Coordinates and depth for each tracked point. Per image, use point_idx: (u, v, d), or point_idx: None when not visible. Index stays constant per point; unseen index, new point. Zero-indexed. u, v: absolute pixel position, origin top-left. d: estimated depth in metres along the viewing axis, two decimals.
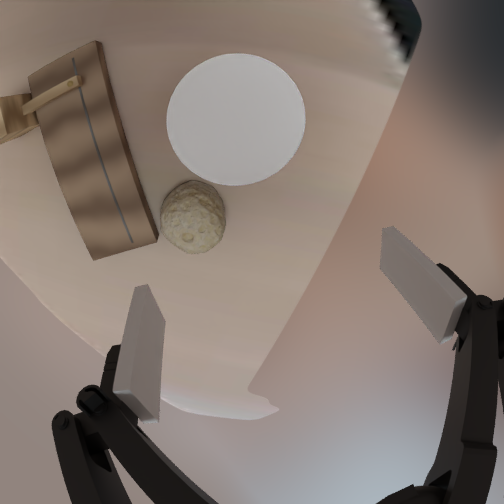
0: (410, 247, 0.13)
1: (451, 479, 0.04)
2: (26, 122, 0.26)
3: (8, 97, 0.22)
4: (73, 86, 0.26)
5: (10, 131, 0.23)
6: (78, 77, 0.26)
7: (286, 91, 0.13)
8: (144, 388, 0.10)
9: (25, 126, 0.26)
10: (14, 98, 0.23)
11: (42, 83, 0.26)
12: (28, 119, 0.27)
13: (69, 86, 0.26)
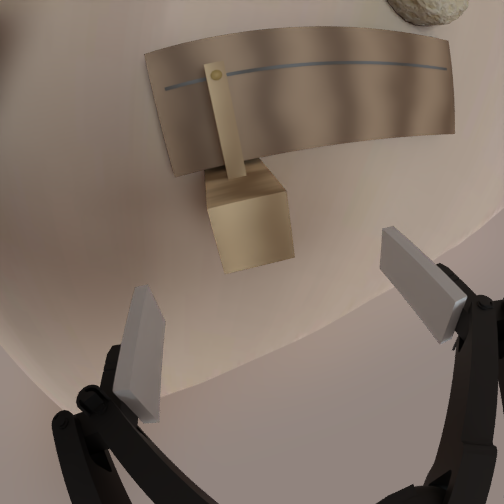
0: (410, 247, 0.13)
1: (451, 479, 0.04)
2: (260, 172, 0.22)
3: (208, 195, 0.20)
4: (223, 69, 0.18)
5: (279, 187, 0.19)
6: None
7: None
8: (144, 388, 0.10)
9: (267, 172, 0.22)
10: (212, 188, 0.21)
11: (195, 146, 0.23)
12: (253, 170, 0.23)
13: (221, 76, 0.18)
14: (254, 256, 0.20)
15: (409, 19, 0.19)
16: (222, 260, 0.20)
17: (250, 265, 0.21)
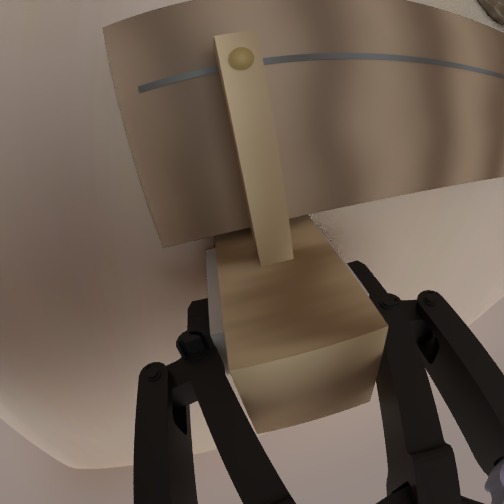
0: None
1: (412, 491, 0.05)
2: (317, 251, 0.12)
3: (228, 317, 0.10)
4: (255, 48, 0.08)
5: (371, 310, 0.09)
6: None
7: None
8: None
9: (331, 253, 0.12)
10: (232, 292, 0.11)
11: (197, 195, 0.13)
12: (302, 244, 0.13)
13: (251, 62, 0.08)
14: (309, 413, 0.10)
15: (496, 15, 0.10)
16: (254, 423, 0.10)
17: (301, 421, 0.11)
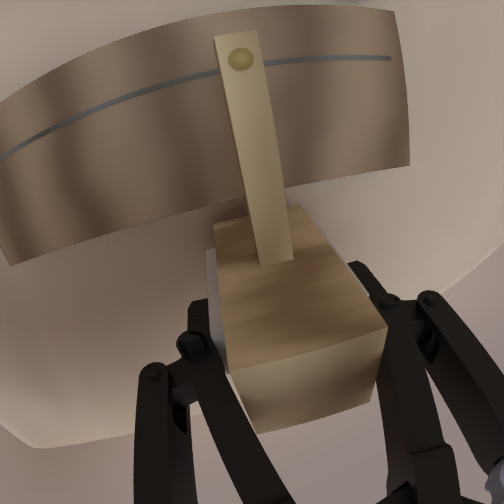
0: None
1: (412, 491, 0.05)
2: (317, 251, 0.12)
3: (227, 318, 0.10)
4: (255, 48, 0.08)
5: (371, 311, 0.09)
6: None
7: None
8: None
9: (331, 253, 0.12)
10: (231, 292, 0.11)
11: (15, 233, 0.16)
12: (302, 245, 0.13)
13: (251, 62, 0.08)
14: (308, 413, 0.10)
15: None
16: (254, 423, 0.10)
17: (301, 422, 0.11)
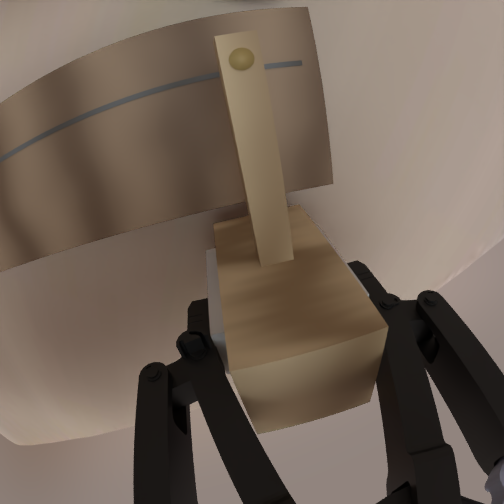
0: None
1: (412, 491, 0.05)
2: (317, 251, 0.12)
3: (228, 318, 0.10)
4: (255, 49, 0.08)
5: (371, 311, 0.09)
6: None
7: None
8: None
9: (331, 253, 0.12)
10: (232, 292, 0.11)
11: None
12: (302, 245, 0.13)
13: (251, 62, 0.08)
14: (309, 413, 0.10)
15: None
16: (255, 423, 0.10)
17: (301, 422, 0.11)
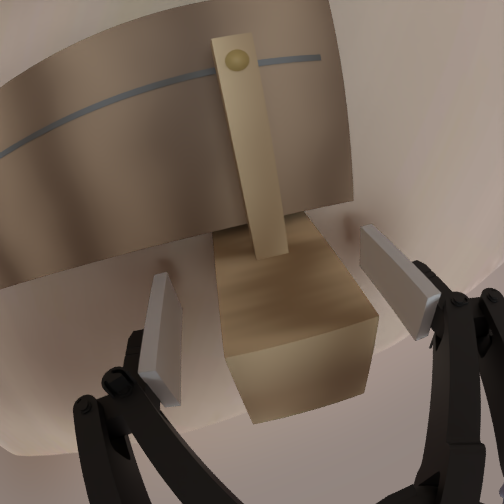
0: (386, 244, 0.14)
1: (440, 481, 0.04)
2: (311, 245, 0.13)
3: (224, 308, 0.10)
4: (250, 50, 0.08)
5: (362, 301, 0.09)
6: None
7: None
8: (167, 370, 0.11)
9: (325, 247, 0.13)
10: (228, 284, 0.12)
11: None
12: (297, 239, 0.13)
13: (247, 63, 0.09)
14: (303, 403, 0.11)
15: None
16: (250, 413, 0.11)
17: (296, 412, 0.11)
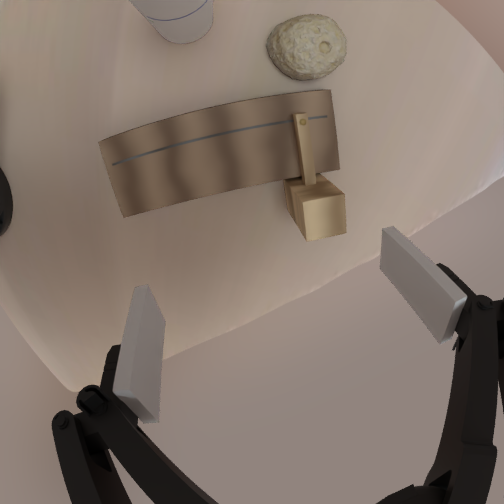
0: (410, 247, 0.13)
1: (451, 479, 0.04)
2: (324, 182, 0.36)
3: (298, 195, 0.34)
4: (306, 118, 0.32)
5: (340, 191, 0.32)
6: (296, 113, 0.32)
7: None
8: (144, 388, 0.10)
9: (328, 182, 0.36)
10: (297, 190, 0.35)
11: (133, 199, 0.36)
12: (318, 181, 0.37)
13: (305, 123, 0.32)
14: (324, 231, 0.34)
15: (293, 78, 0.32)
16: (306, 233, 0.34)
17: (322, 236, 0.34)
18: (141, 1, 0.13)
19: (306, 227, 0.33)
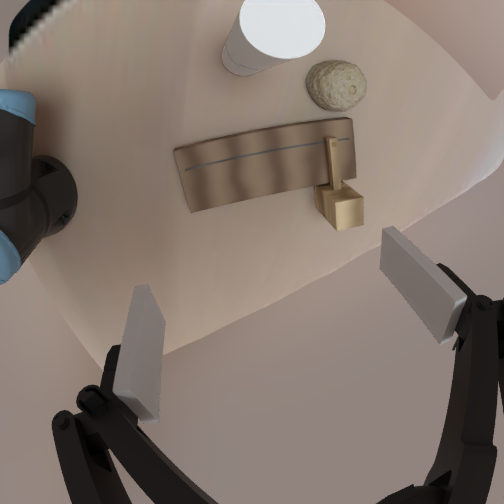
0: (410, 247, 0.13)
1: (451, 479, 0.04)
2: (346, 187, 0.48)
3: (330, 197, 0.46)
4: (336, 142, 0.44)
5: (360, 195, 0.45)
6: (329, 138, 0.44)
7: None
8: (144, 388, 0.10)
9: (350, 188, 0.48)
10: (329, 194, 0.47)
11: (200, 198, 0.48)
12: (342, 186, 0.49)
13: (335, 145, 0.44)
14: (349, 223, 0.46)
15: (325, 108, 0.45)
16: (337, 224, 0.46)
17: (347, 227, 0.47)
18: (254, 62, 0.25)
19: (337, 220, 0.46)
